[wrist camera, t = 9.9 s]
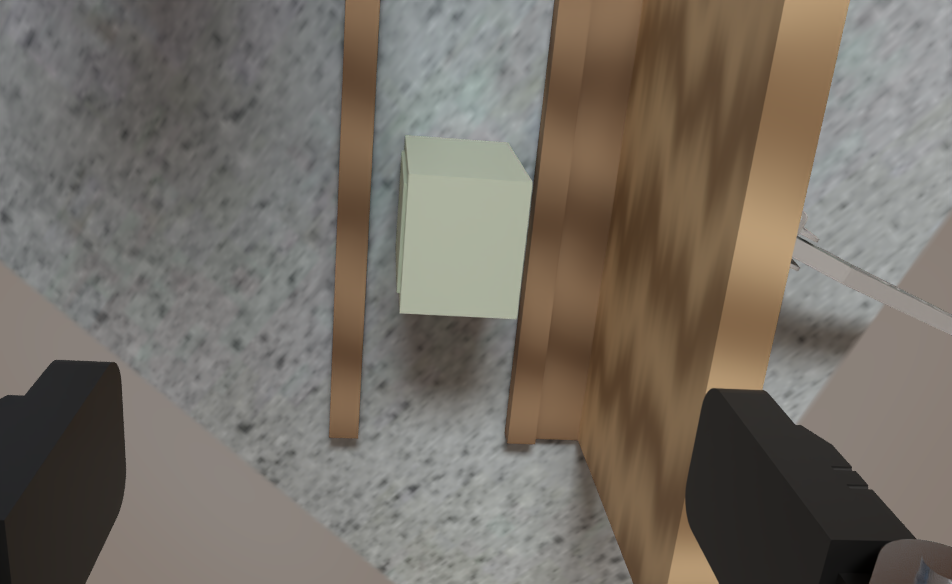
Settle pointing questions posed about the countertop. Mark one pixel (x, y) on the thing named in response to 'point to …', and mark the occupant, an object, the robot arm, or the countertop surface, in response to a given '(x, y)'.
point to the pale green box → (461, 228)
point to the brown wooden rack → (632, 235)
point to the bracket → (866, 281)
